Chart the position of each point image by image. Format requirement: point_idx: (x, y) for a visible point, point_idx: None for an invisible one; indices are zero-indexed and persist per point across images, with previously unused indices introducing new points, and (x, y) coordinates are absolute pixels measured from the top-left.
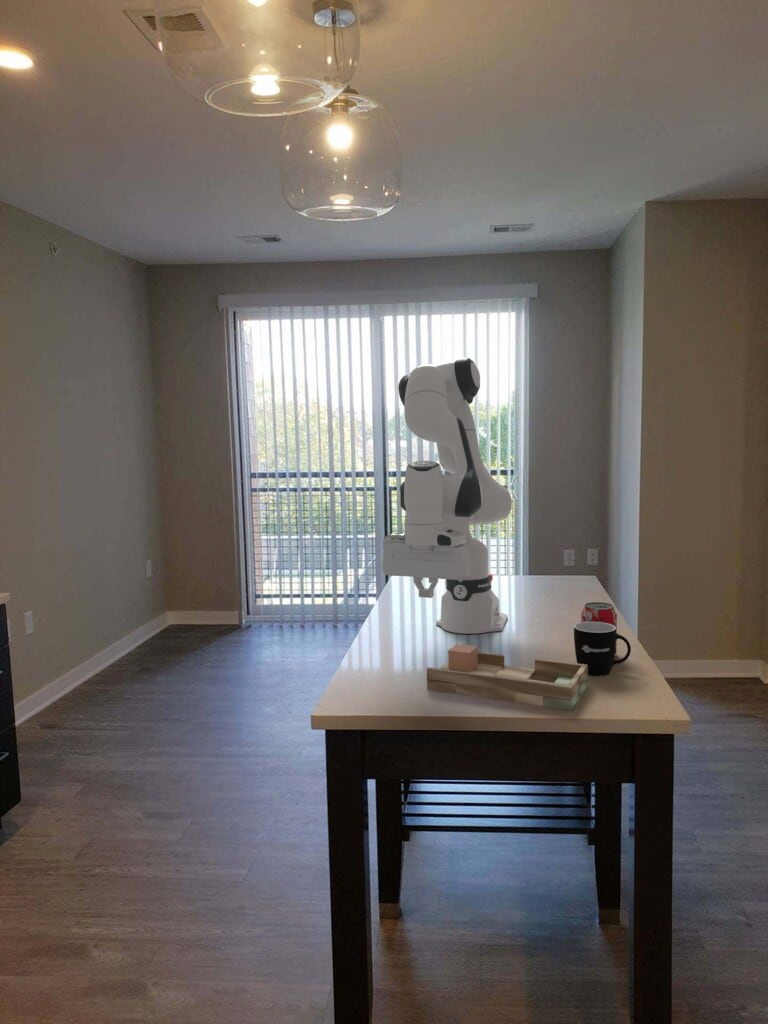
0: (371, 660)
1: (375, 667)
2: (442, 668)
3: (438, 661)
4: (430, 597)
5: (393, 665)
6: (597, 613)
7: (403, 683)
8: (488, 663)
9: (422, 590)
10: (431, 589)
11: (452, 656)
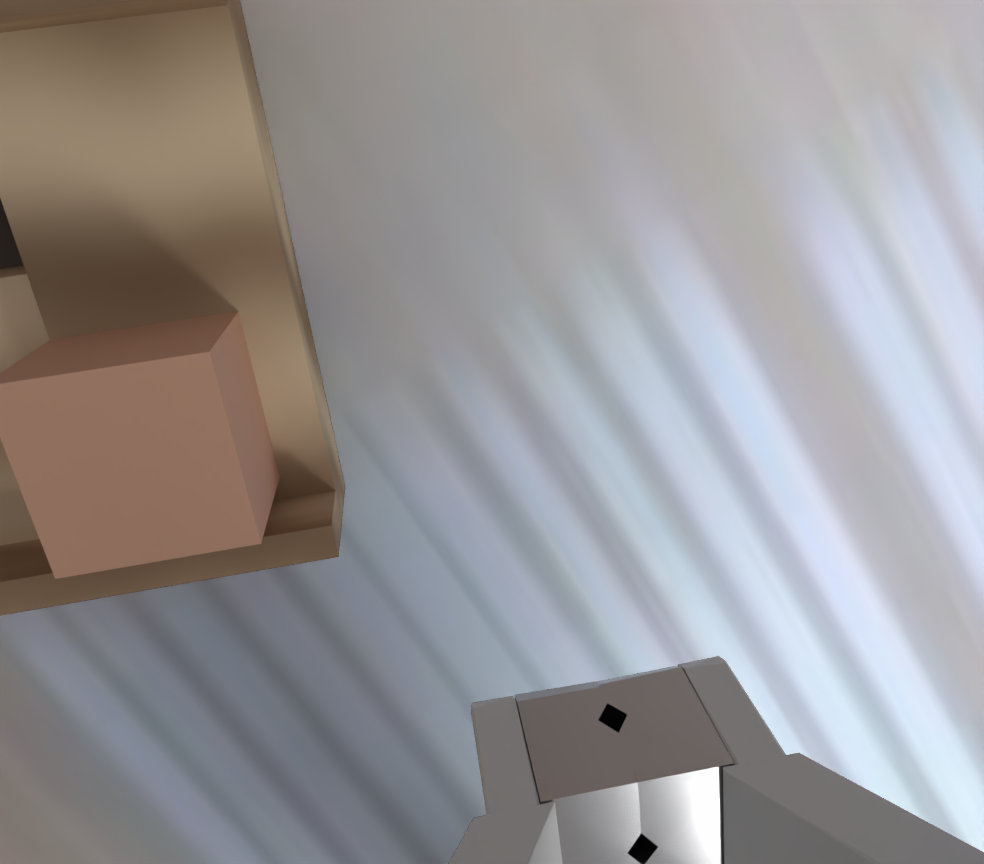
0: (923, 345)
1: (836, 232)
2: (272, 279)
3: (510, 552)
4: (475, 702)
5: (740, 334)
6: None
7: (478, 14)
8: (36, 543)
9: (681, 761)
10: (462, 841)
11: (177, 343)
